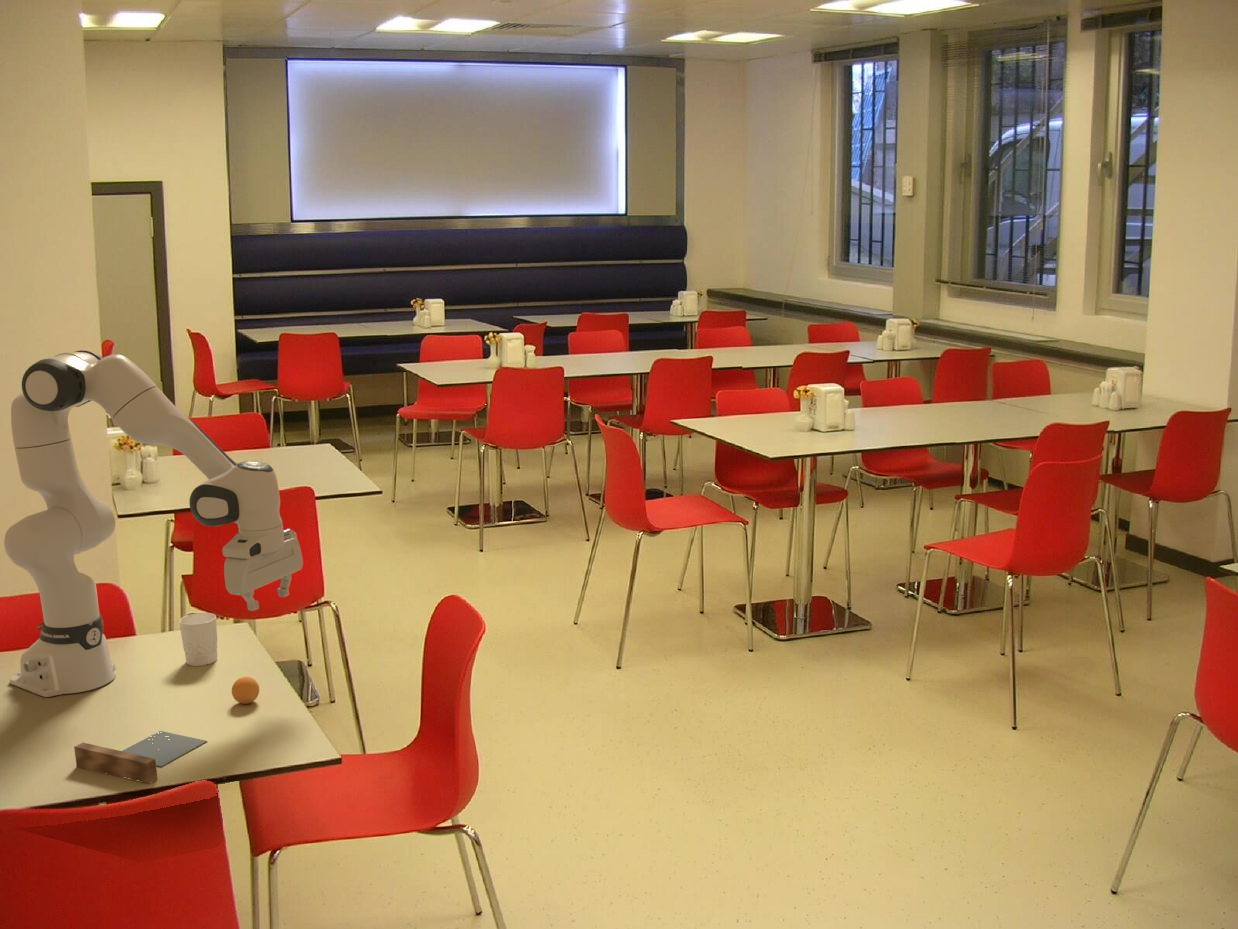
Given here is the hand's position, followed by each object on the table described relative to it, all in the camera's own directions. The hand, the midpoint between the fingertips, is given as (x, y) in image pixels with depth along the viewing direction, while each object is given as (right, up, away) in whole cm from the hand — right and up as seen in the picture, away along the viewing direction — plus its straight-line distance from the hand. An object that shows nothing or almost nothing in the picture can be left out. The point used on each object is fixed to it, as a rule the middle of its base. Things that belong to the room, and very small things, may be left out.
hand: (268, 602), depth 277 cm
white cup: (-20, -15, +21) cm, 33 cm away
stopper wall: (-19, -28, -34) cm, 48 cm away
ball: (-4, -18, -4) cm, 18 cm away
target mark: (-14, -25, -25) cm, 38 cm away
